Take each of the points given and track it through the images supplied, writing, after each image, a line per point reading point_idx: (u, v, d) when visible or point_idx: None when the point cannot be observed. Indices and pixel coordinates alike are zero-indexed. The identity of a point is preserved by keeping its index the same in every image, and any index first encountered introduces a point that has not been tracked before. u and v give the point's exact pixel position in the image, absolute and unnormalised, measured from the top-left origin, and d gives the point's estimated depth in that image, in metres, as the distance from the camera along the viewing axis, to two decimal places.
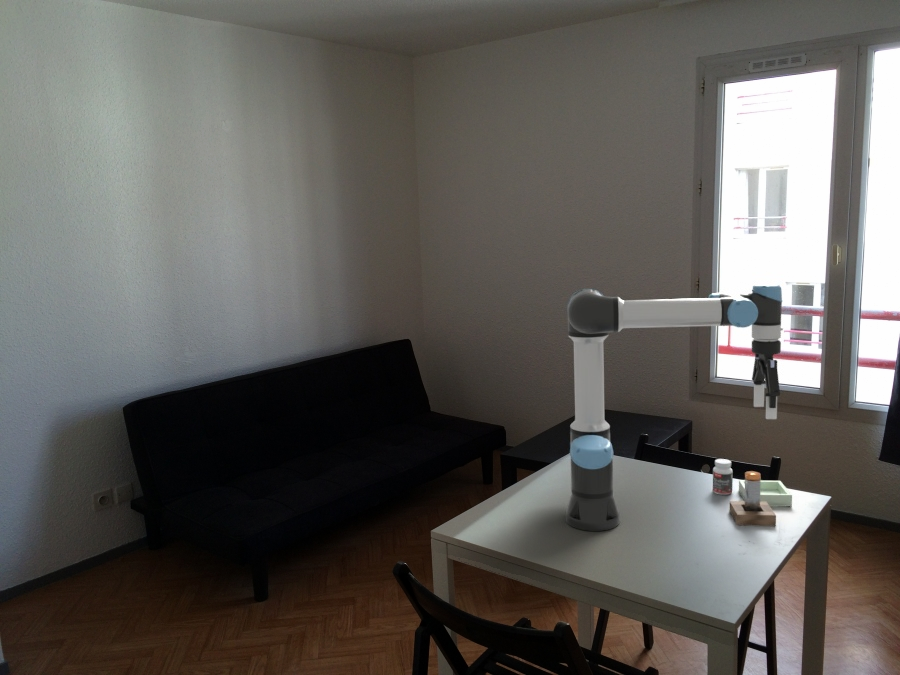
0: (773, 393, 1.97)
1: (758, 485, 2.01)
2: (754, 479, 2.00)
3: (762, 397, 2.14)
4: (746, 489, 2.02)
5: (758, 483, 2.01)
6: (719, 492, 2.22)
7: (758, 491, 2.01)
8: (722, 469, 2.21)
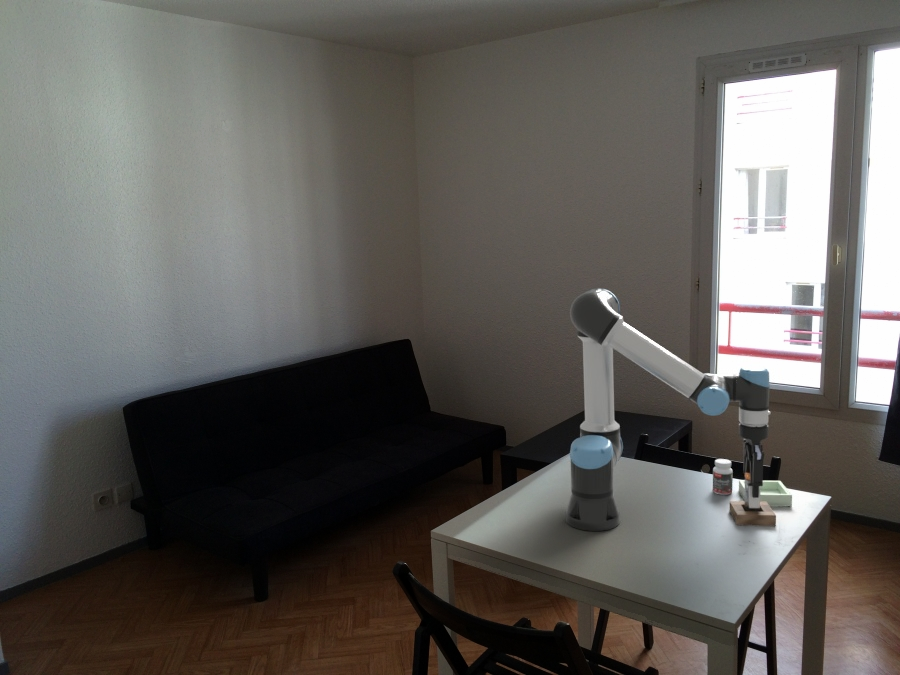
0: (756, 485, 1.97)
1: None
2: None
3: None
4: (746, 489, 2.02)
5: None
6: (719, 492, 2.22)
7: None
8: (722, 469, 2.21)
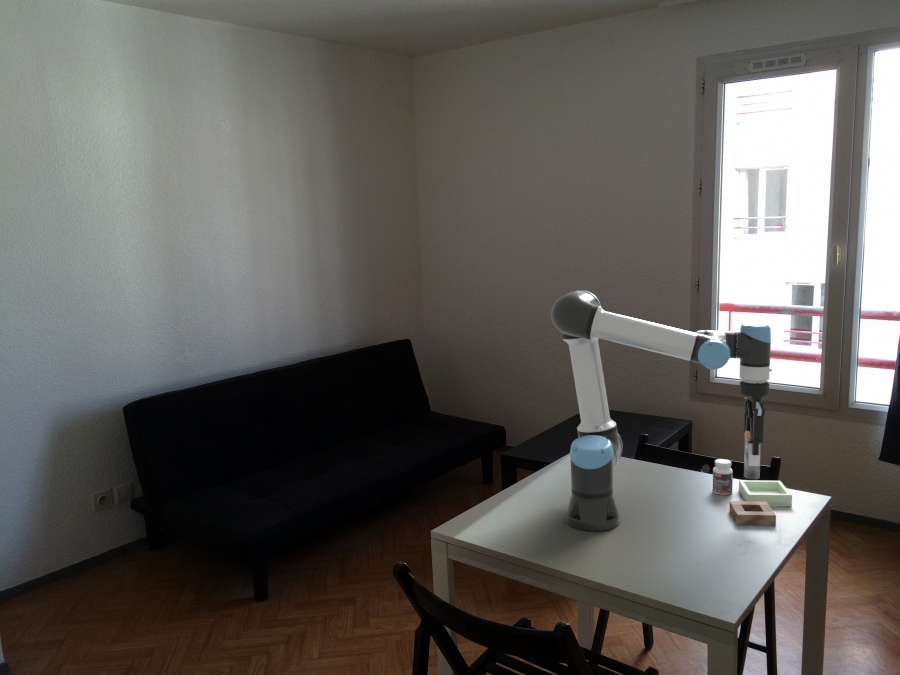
0: (756, 442, 1.95)
1: None
2: None
3: None
4: (746, 447, 2.01)
5: None
6: (719, 492, 2.22)
7: None
8: (722, 469, 2.21)
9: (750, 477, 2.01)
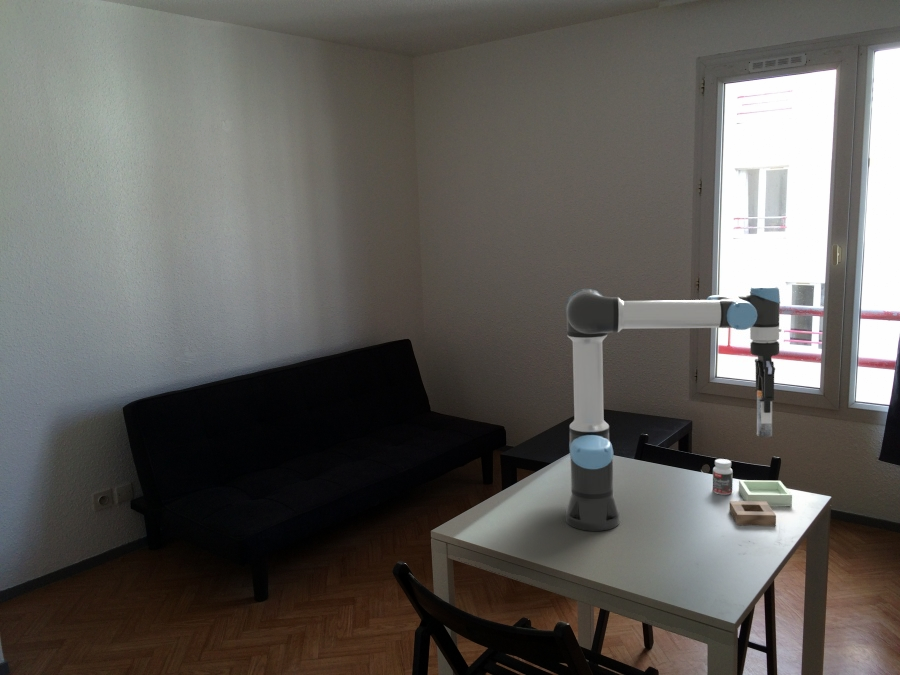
0: (767, 399, 2.03)
1: None
2: None
3: None
4: (758, 406, 2.08)
5: None
6: (719, 492, 2.22)
7: None
8: (722, 469, 2.21)
9: (763, 435, 2.08)
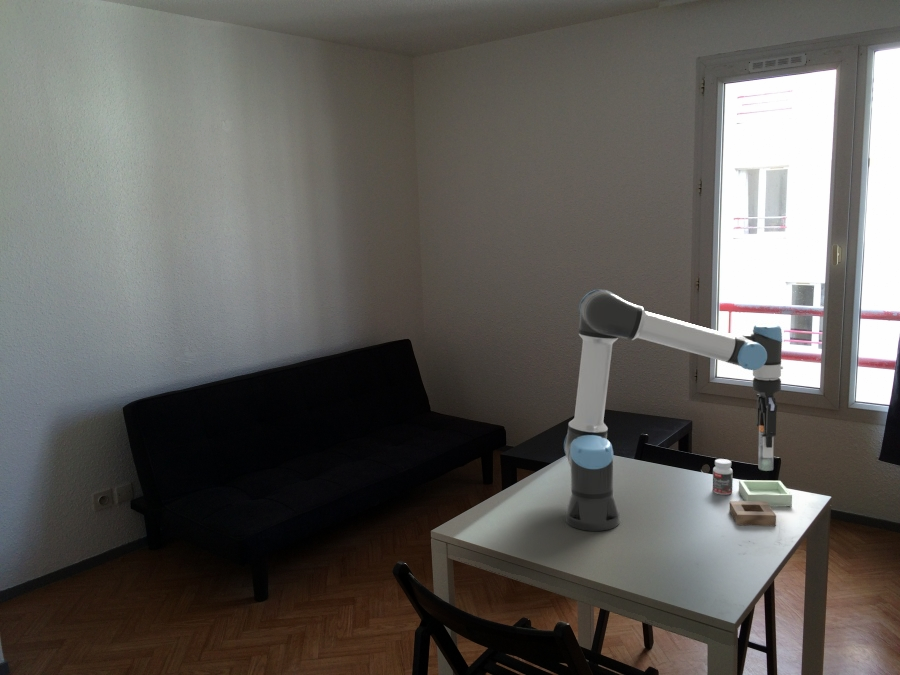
0: (769, 435, 2.09)
1: None
2: None
3: None
4: (760, 441, 2.14)
5: None
6: (719, 492, 2.22)
7: None
8: (722, 469, 2.21)
9: (764, 469, 2.14)
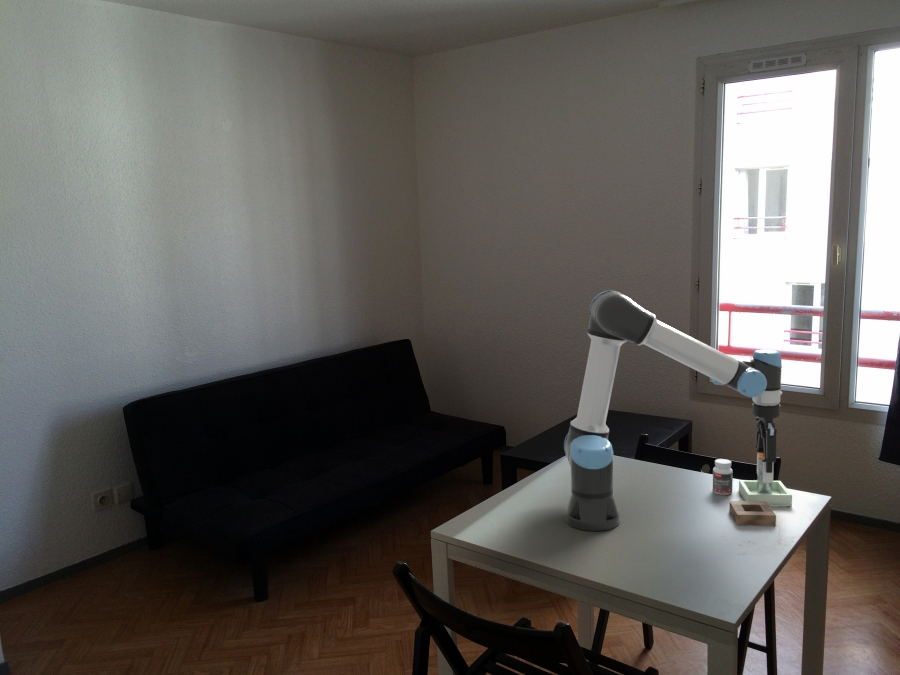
0: (770, 460, 2.09)
1: None
2: None
3: None
4: (759, 468, 2.16)
5: None
6: (719, 492, 2.22)
7: None
8: (722, 469, 2.21)
9: None
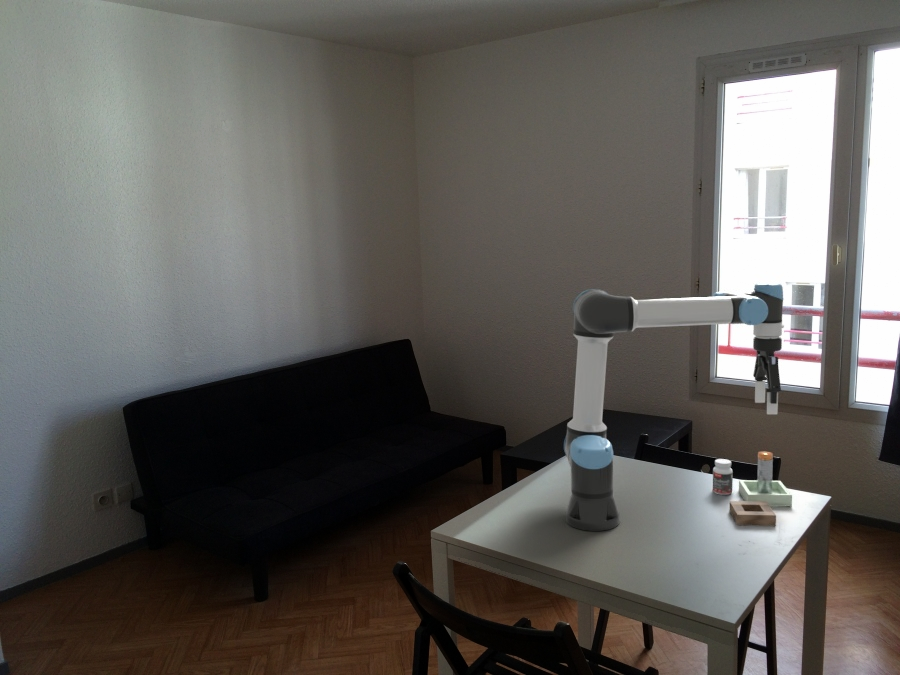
0: (774, 389, 2.02)
1: (770, 464, 2.14)
2: (767, 458, 2.14)
3: (763, 393, 2.19)
4: (759, 468, 2.16)
5: (770, 462, 2.14)
6: (719, 492, 2.22)
7: (770, 470, 2.14)
8: (722, 469, 2.21)
9: None
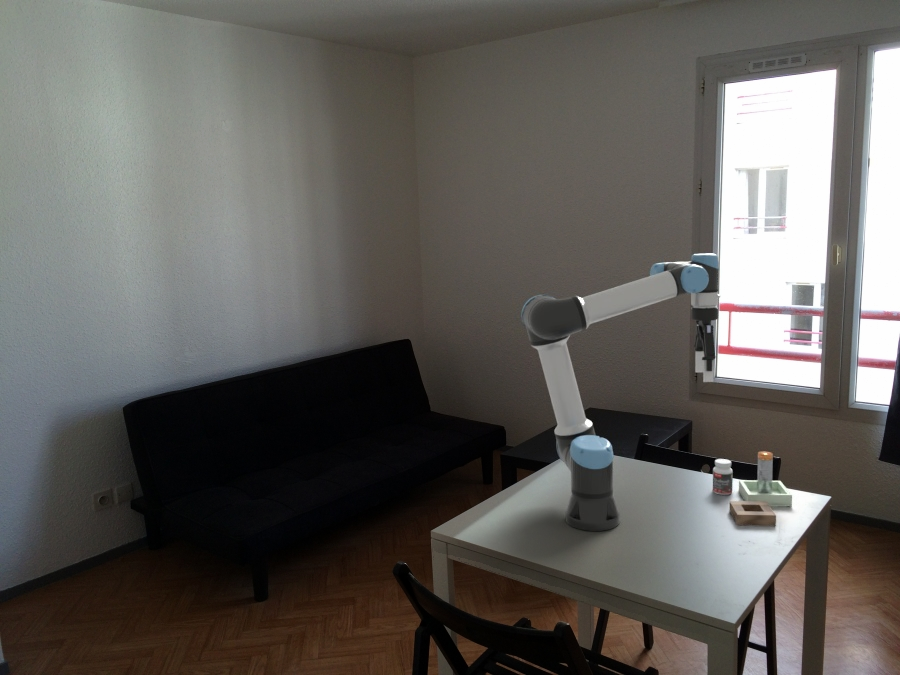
0: (709, 356, 2.07)
1: (770, 464, 2.14)
2: (767, 458, 2.14)
3: (703, 363, 2.23)
4: (759, 468, 2.16)
5: (770, 462, 2.14)
6: (719, 492, 2.22)
7: (770, 470, 2.14)
8: (722, 469, 2.21)
9: None
